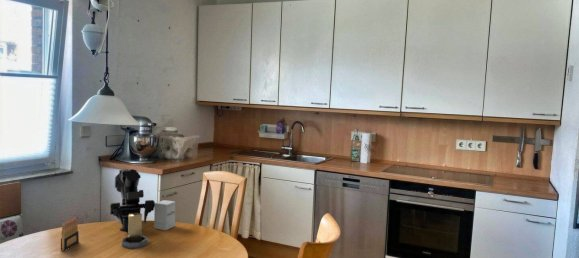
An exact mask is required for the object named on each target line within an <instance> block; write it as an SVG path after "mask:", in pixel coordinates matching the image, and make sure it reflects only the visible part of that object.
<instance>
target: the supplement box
mask: <svg viewBox="0 0 579 258" xmlns="http://www.w3.org/2000/svg"><path fill="white" fill-rule="evenodd" d="M153 211H154V213H153V215H154V216H153V217H154V218H153V219H154V220H153V221H154V222H153V224H154V225H153V228H154V229H157V230H162V231H167V230H169V229H171V228H174V227H176V201H173V200H165V199H163V200H160V201H157V202H155V206H154V210H153Z"/></svg>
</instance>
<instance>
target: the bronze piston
mask: <svg viewBox="0 0 579 258" xmlns="http://www.w3.org/2000/svg"><path fill="white" fill-rule="evenodd" d="M142 217H143V215H142V213H141V212H140V213H131V214H129V215H128V232H127V233H128V234H127V237H128V242H130V243H131V242H140V241H142V236H143V234H142V233H143V232H142V231H143V230H142V229H143V228H142V227H143V218H142Z"/></svg>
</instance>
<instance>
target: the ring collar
mask: <svg viewBox="0 0 579 258" xmlns="http://www.w3.org/2000/svg"><path fill="white" fill-rule="evenodd" d="M147 245H149V241H148V236H145V235H142V241H140V242H131V243H130V242H128V236H125V237H123V239H122V241H121V248H124V249H128V250H129V249H132V250H133V249H139V248H140V249H141V248H144V247H146V246H147Z"/></svg>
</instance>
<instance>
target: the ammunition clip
mask: <svg viewBox="0 0 579 258" xmlns="http://www.w3.org/2000/svg"><path fill="white" fill-rule="evenodd" d="M61 224H62V225H61V238H60V251H61V250H66V249H67V250H69V249H71V248H72V247H74V246H75V245H77V244H78V243H79V241H80V240H79V239H80V238H79V236H80V235H79V230H78V229H79V227H78V219H77V216H76V215H75V216H74V217H73V216H72V217H70V218H69V219H67V220H65V221H63V222H62V223H61ZM73 245H74V246H73ZM71 246H72V247H71ZM70 247H71V248H70ZM68 248H69V249H68ZM67 250H66V251H67Z"/></svg>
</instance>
